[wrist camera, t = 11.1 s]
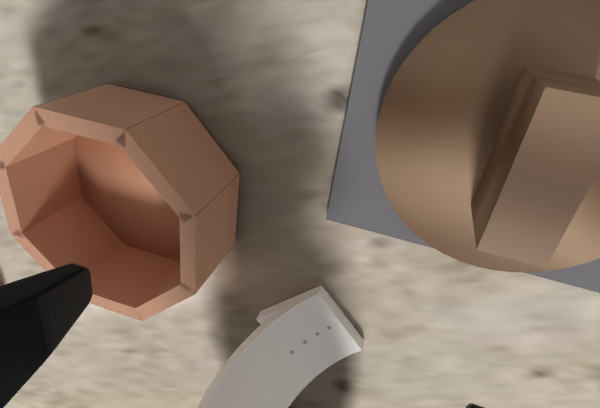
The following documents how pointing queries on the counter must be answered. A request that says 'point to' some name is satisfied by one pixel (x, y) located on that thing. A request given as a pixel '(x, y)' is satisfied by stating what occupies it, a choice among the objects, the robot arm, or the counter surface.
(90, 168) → the bowl
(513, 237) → the lid
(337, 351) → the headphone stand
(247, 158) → the counter surface
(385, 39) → the mat
